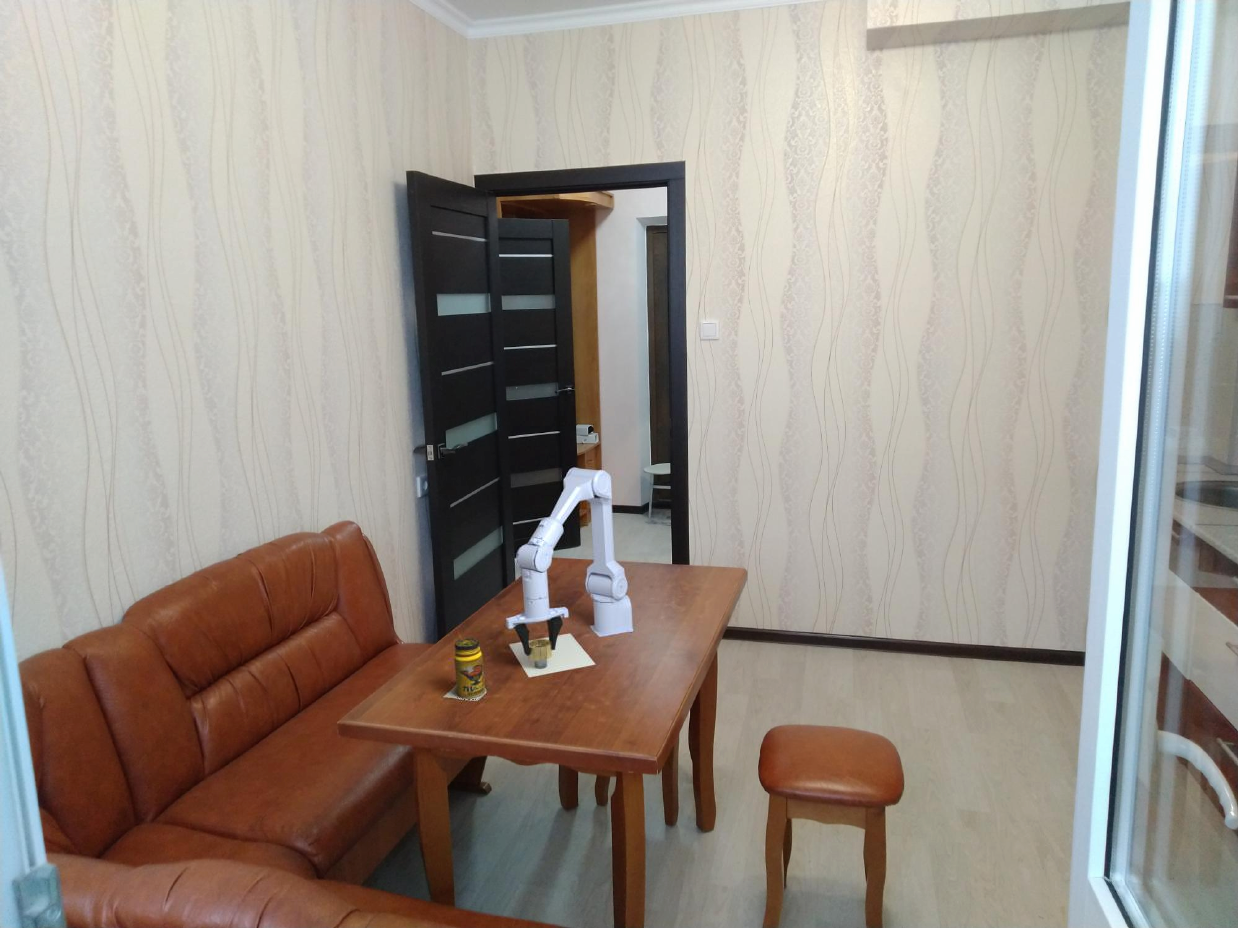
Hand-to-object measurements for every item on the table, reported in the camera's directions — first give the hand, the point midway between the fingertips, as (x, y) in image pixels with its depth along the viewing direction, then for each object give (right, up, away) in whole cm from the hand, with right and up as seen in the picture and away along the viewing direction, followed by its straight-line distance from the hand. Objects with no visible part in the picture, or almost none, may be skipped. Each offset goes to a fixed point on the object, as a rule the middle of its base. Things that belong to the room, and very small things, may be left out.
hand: (539, 651), depth 198 cm
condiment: (-15, -7, -10) cm, 19 cm away
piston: (0, -4, +1) cm, 4 cm away
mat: (+2, -3, +8) cm, 8 cm away
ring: (0, -1, 0) cm, 1 cm away
